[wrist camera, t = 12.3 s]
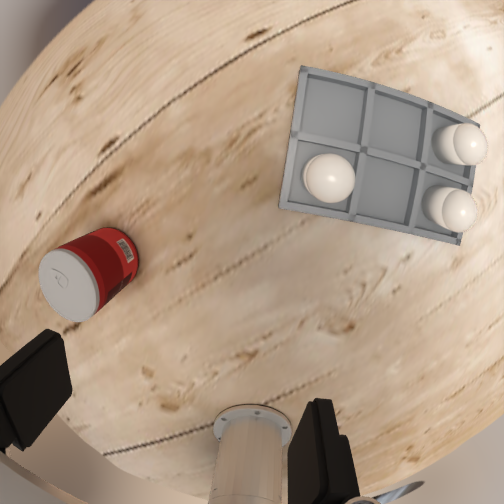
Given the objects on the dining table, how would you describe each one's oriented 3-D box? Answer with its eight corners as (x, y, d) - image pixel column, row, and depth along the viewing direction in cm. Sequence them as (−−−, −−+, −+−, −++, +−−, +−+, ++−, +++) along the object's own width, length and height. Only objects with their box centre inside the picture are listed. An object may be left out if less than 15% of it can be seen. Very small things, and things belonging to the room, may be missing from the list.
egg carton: (451, 241, 32) (459, 245, 31) (278, 205, 33) (278, 208, 31) (471, 125, 28) (479, 124, 26) (299, 70, 28) (301, 65, 27)
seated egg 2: (447, 226, 31) (479, 240, 24) (417, 218, 32) (448, 232, 25) (454, 190, 30) (489, 197, 23) (425, 180, 30) (458, 186, 23)
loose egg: (338, 200, 32) (356, 211, 25) (297, 192, 32) (304, 201, 25) (345, 159, 30) (365, 159, 24) (304, 151, 31) (313, 147, 24)
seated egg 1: (457, 168, 29) (493, 172, 22) (429, 157, 29) (462, 158, 22) (462, 133, 28) (497, 130, 21) (433, 121, 28) (466, 114, 21)
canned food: (95, 217, 35) (41, 238, 24) (147, 241, 35) (102, 271, 25) (85, 268, 37) (36, 301, 26) (133, 293, 37) (91, 335, 27)
